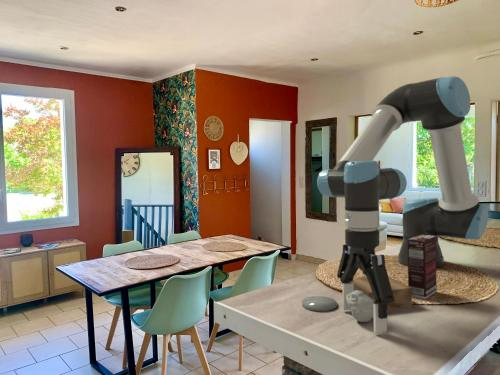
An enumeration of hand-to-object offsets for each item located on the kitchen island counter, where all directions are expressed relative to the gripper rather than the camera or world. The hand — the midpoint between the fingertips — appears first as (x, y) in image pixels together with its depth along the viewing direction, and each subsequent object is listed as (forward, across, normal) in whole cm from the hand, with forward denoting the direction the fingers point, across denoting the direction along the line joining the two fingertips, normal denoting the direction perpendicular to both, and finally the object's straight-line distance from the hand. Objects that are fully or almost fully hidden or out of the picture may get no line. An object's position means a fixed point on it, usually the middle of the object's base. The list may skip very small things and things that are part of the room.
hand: (363, 319), depth 88 cm
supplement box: (+1, -11, +25) cm, 27 cm away
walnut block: (+1, -11, +11) cm, 16 cm away
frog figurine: (+1, 0, 0) cm, 1 cm away
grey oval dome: (0, -13, -5) cm, 14 cm away
